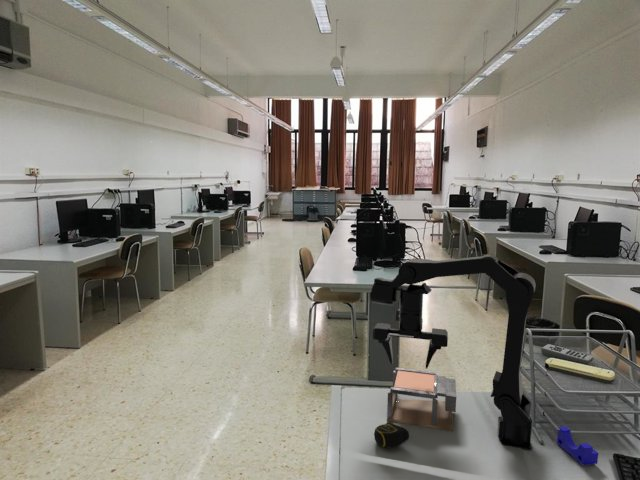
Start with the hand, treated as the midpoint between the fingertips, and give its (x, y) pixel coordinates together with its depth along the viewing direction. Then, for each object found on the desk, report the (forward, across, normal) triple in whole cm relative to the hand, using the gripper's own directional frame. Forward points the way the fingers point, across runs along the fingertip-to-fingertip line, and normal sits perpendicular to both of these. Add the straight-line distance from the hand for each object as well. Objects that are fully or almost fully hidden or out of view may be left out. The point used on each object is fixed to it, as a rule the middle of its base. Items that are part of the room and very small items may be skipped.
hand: (408, 365), depth 112 cm
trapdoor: (+4, -7, 0) cm, 8 cm away
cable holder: (+13, -38, +7) cm, 41 cm away
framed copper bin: (+12, -4, 0) cm, 13 cm away
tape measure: (+12, 0, +16) cm, 20 cm away
